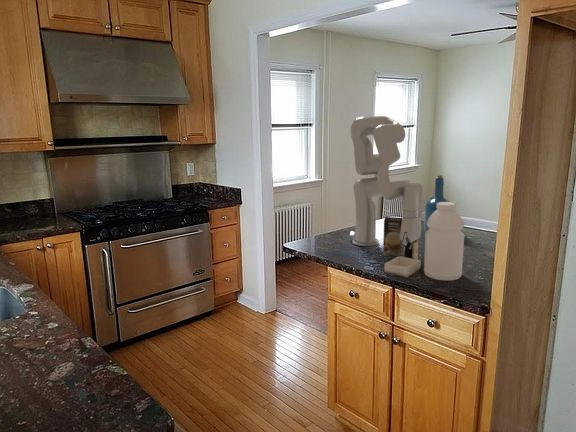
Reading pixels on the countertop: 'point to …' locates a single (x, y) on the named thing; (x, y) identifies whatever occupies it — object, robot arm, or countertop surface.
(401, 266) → the white square tray
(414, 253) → the tan rounded cylinder
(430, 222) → the bottle
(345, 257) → the countertop surface
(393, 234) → the coffee box
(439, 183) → the wine bottle
